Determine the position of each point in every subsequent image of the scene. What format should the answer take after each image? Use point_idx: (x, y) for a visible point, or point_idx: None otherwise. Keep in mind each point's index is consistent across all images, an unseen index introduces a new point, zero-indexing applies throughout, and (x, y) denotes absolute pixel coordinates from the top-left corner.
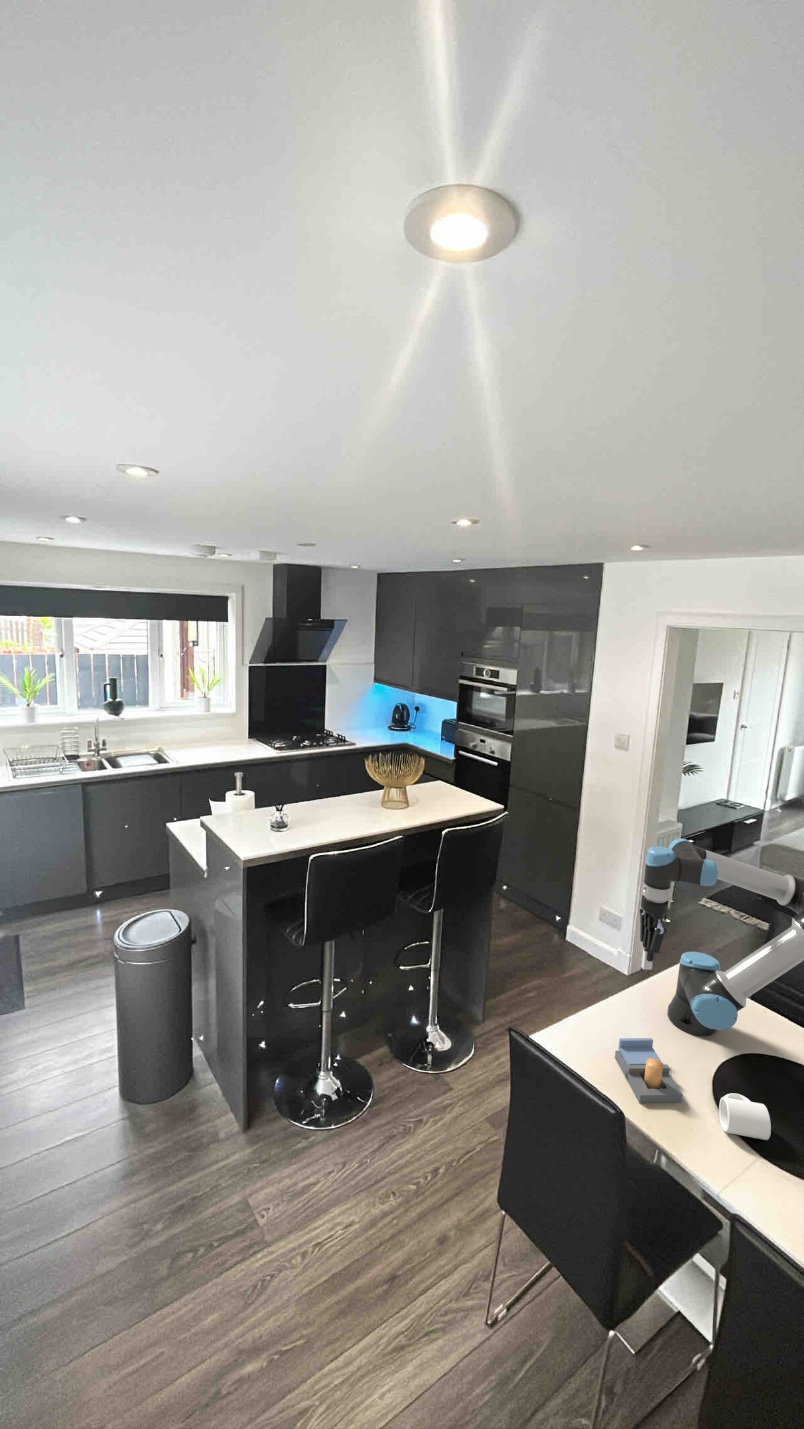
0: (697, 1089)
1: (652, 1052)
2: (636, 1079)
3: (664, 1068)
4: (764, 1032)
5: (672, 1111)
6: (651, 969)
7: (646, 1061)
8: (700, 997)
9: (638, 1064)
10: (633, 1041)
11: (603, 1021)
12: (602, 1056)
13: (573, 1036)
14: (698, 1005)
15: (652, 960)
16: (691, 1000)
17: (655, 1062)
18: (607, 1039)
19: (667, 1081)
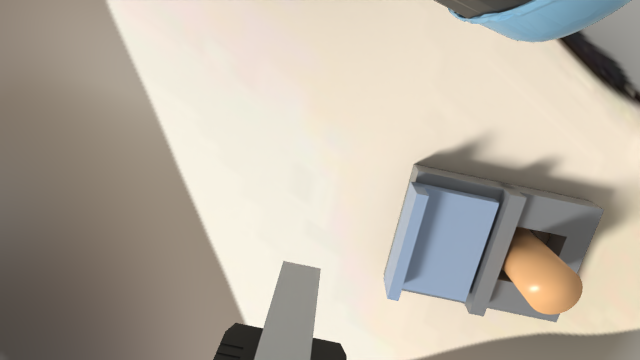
0: (568, 118)
1: (445, 203)
2: (504, 298)
3: (520, 214)
4: None
5: (601, 244)
6: (319, 272)
7: (535, 309)
8: (569, 3)
9: (473, 275)
10: (409, 260)
11: (232, 216)
12: (369, 301)
13: None
14: (564, 35)
15: (343, 356)
16: (469, 14)
17: (549, 284)
18: (309, 250)
19: (544, 218)
